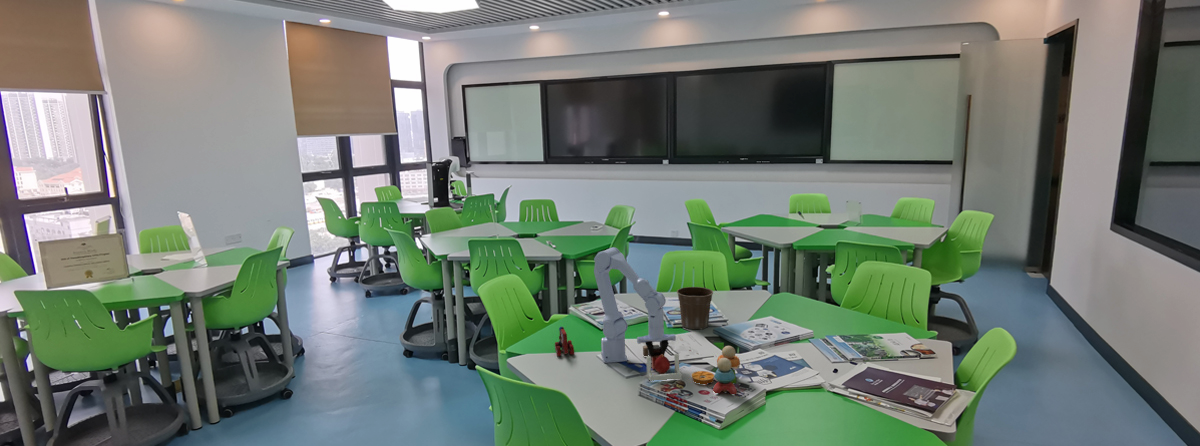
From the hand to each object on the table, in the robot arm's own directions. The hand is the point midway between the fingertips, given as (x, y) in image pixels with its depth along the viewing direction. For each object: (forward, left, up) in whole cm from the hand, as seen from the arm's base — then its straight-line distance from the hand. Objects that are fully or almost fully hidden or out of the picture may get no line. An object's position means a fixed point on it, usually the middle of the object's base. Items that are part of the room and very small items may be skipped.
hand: (656, 359), depth 224 cm
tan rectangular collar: (0, +10, -3) cm, 11 cm away
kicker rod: (0, +6, -3) cm, 7 cm away
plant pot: (+27, +42, -3) cm, 50 cm away
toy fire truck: (-34, +22, -3) cm, 41 cm away
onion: (0, -8, -3) cm, 8 cm away
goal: (0, -12, -3) cm, 12 cm away
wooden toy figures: (+17, -21, -3) cm, 27 cm away
